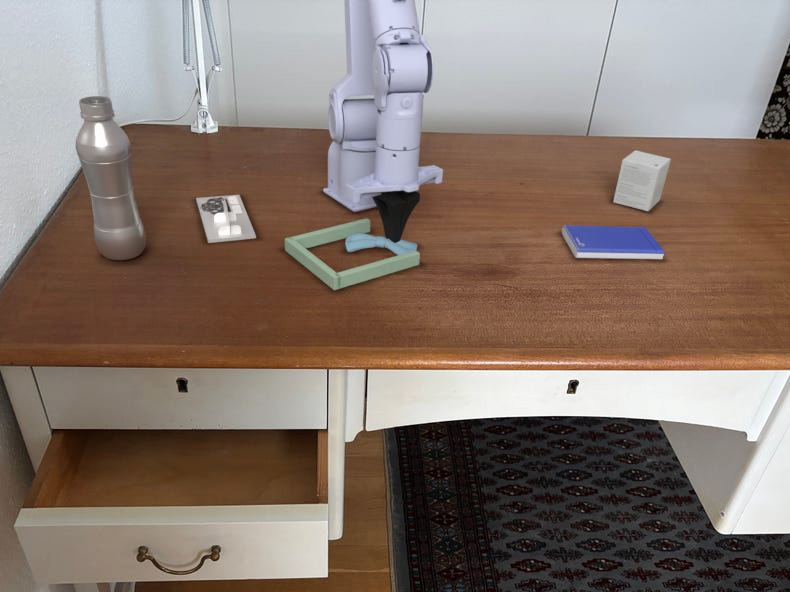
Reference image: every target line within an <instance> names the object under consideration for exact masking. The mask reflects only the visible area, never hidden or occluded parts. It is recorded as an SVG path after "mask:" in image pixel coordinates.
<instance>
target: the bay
mask: <svg viewBox="0 0 790 592" xmlns="http://www.w3.org/2000/svg"><path fill="white" fill-rule="evenodd" d="M370 232H371V220H370V219H369V218H367V217H366V218H362V219H358V220H354V221H350V222H346V223H342V224H338V225H334V226H330V227H326V228H321V229H318V230H314V231H310V232H306V233H301V234H298V235H294V236H289V237H286V238H284V251H285V252H286V253H288V254H289V255H290V256H291V257H293V258H294V259H295V260H296V261H297V262H298V263H300V264H301V265H303V267H305V268H306V269H307V270H308V271H309V272H311V273H312V274H314V275H315V276H316V277H317V278H318V279H319V280H321V281H322V282H323V283H325V285H327V286H328V287H329V288H331V290H333V291H337V290H340V289H343V288H346V287H349V286H353V285H356V284H360V283H364V282H366V281H369V280H374V279H376V278H380V277H383V276H387V275H389V274H393V273H397V272H400V271H403V270H406V269H410V268H414V267H416V266H420V261H421V260H420V259H421V253H420V252H419V251H418V250H415V251H412V252H408V253H405V254H401V255H395V256H391V257H388V258H384V259H380V260H377V261H374V262H371V263H367V264H363V265H360V266H356V267H353V268H350V269H346V270H343V271H338V272H337V271H335V270H334V269H333V268H331V267H330V266H329V265H328V264H326V263H325V262H323V260H321V259H320V258H319V257H317V256H316V255H315V254H314V253H312V252H311V251H309V250H308V249H309V248H310V249H311V248H313V247H316V246H317V247H318V246H321V245H324V244H325V245H326V244H328V243H329V244H330V243H332V242H336V241H340V240H344V239H346V238H347V237H348V236H349V235H353V234H358V233H363V234H368V233H370Z"/></svg>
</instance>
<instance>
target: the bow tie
mask: <svg viewBox="0 0 790 592" xmlns="http://www.w3.org/2000/svg"><path fill="white" fill-rule="evenodd" d="M344 245H345V249H346V251H347V252H348V253H353V252H356V251H360V250H363V249H364V250H365V249H372V248H375V247H376V248H381V249H385V248H386V249H388V250H389V251H391V252H392V253H394V254H395V256H398V255H401V254H405V253H408V252H412V251H415V250H416V251H418V250H417V249H418V243H416V242H412V241H409V240H404V239H401V240H400V241H399V242H397V243H394V242H392V241H391V240H390V239H387V238H386V237H385V236H381V235H379V236H375V235H371V234H368V233H364V234H363V233H358V234H353V235H349V236H348V237H347V238H345V242H344Z"/></svg>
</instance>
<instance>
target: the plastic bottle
mask: <svg viewBox="0 0 790 592" xmlns="http://www.w3.org/2000/svg"><path fill="white" fill-rule="evenodd" d="M78 104H79V110H80V112H79V114H80V118H81V119H82V120H83V123H82V125H81V127H80V128H79V131H78V132H77V135H76V138H75V144H74V145H75V151H76V154H77V156H78V157H77V158H78V160H79V162H80V166H81V168H82V171H83V174H84V176H85V180H86V184H87V187H88V190H89V195H90V198H91V199H90V200H91V208H92V215H93V240H94V241H93V242H94V243H95V245H96V249H97V250H98V252H99V253H100V254H101V255H102V256H103V257H105V258H106V259H109V260H114V261H125V260H130V259H134V258H137V257H138V256H140V255H141V254H142V253H143V252H144V250H145V248H146V246H147V233H146V230H145V226H144V223H143V221H142V218H141V217H140V212H139V208H138V204H137V201H136V196H135V190H134V182H133V181H134V180H133V174H132V173H133V172H132V171H133V169H132V168H133V167H132V166H133V165H132V145H131V141H130V139H129V137H128V135H127V134H126V132H125V130H124V129H122V127H121V126H120V125H119V124H118V123H117V122H116V121H115V120H114V117H115V116H116V115H115V110H114V109H113V103H112V99H111V98H110V97H108V96H102V95H101V96H100V95H93V96H86V97H83V98H80V99H79V101H78Z"/></svg>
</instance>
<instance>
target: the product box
mask: <svg viewBox="0 0 790 592" xmlns="http://www.w3.org/2000/svg"><path fill="white" fill-rule="evenodd" d="M671 161H672V159H671V158H670V157H666V156H660V155H657V154H653V153H648V152H644V151H641V150H633V151H632V152H631V153H630V154H628V155H627V156H626V157H624V158H623V159H622V160H621V165H620V169H619V173H618V176H617V177H618V178H617V182H616V186H615V190H614V196H613V200H612V203H613V204H618V205H621V206H625V207H628V208H632V209H637V210H640V211H645V212H649V211H650V210H652V209H653V208H654V206H656V204H657V203H659V202H660V201H661V198H662V194H663V190H664V187H665V183H666V180H667V176H668V172H669V168H670V166H671V165H670V164H671Z"/></svg>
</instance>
